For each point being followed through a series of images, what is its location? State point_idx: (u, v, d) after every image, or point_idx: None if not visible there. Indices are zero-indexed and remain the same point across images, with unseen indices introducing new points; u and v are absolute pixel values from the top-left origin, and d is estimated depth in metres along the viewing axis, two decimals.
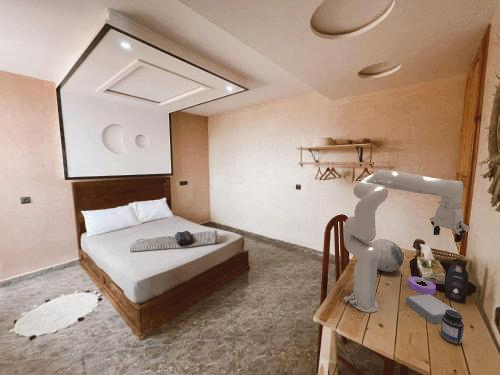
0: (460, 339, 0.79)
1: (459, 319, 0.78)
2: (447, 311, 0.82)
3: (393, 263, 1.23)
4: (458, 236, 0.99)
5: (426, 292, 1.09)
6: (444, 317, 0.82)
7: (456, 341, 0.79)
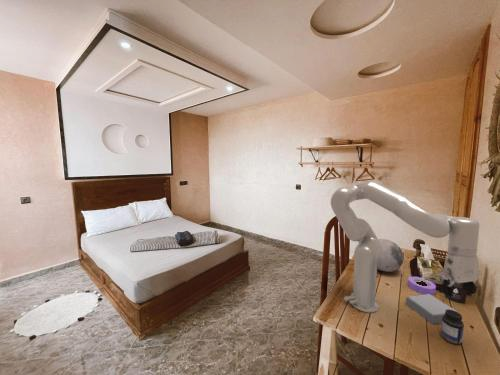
0: (460, 339, 0.79)
1: (459, 319, 0.78)
2: (447, 311, 0.82)
3: (393, 263, 1.23)
4: None
5: (426, 292, 1.09)
6: (444, 317, 0.82)
7: (456, 341, 0.79)
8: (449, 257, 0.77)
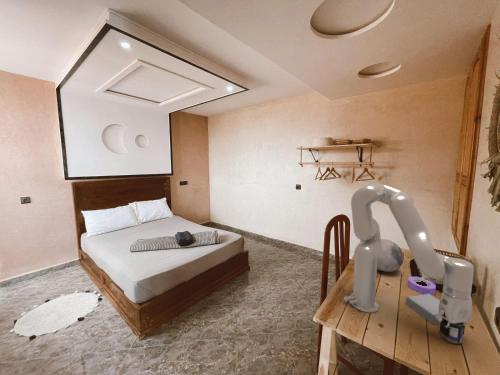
0: (460, 339, 0.79)
1: None
2: None
3: (393, 263, 1.23)
4: None
5: (426, 292, 1.09)
6: None
7: (456, 341, 0.79)
8: (444, 297, 0.79)
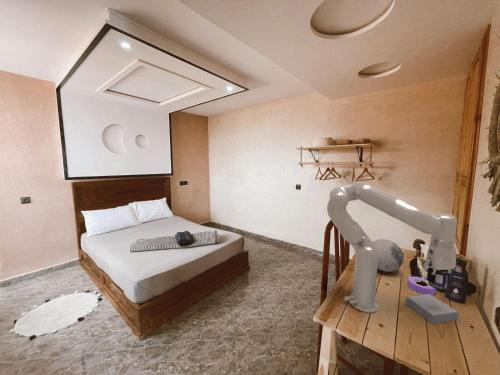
0: (445, 285, 0.88)
1: None
2: None
3: (393, 263, 1.23)
4: (448, 275, 0.91)
5: (426, 292, 1.09)
6: None
7: (441, 287, 0.89)
8: (430, 248, 0.89)
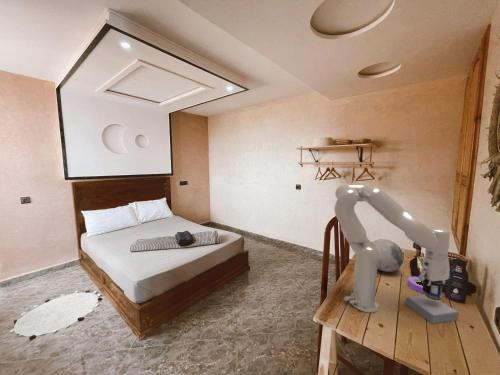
0: (440, 295, 0.92)
1: None
2: None
3: (393, 263, 1.23)
4: None
5: None
6: None
7: (436, 297, 0.93)
8: (425, 260, 0.93)
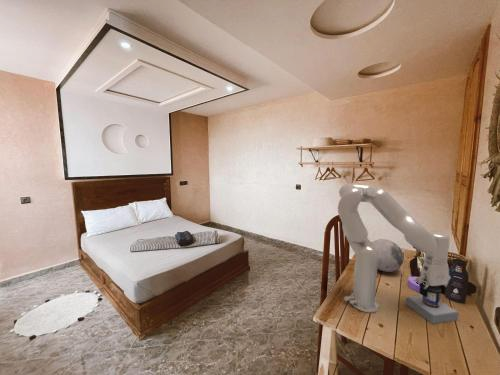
0: (438, 303, 0.93)
1: None
2: None
3: (393, 263, 1.23)
4: None
5: None
6: None
7: (434, 304, 0.93)
8: (425, 264, 0.94)
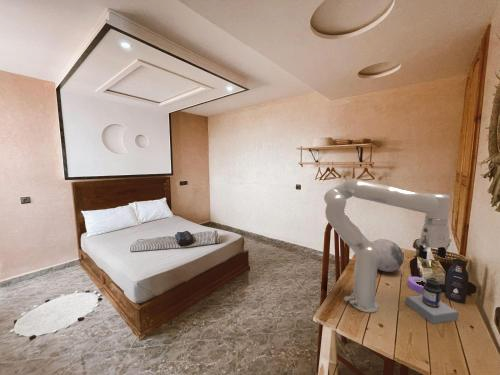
0: (438, 303, 0.93)
1: (437, 286, 0.93)
2: (427, 280, 0.96)
3: (393, 263, 1.23)
4: None
5: None
6: (425, 285, 0.96)
7: (434, 304, 0.93)
8: (425, 227, 0.92)
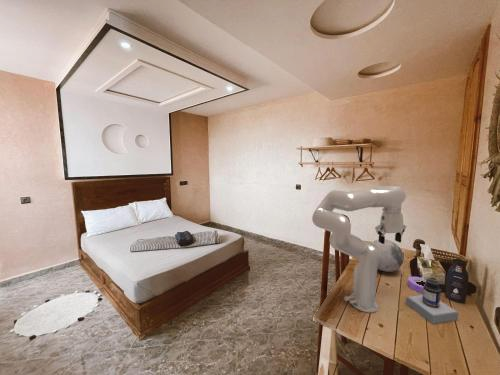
0: (438, 303, 0.93)
1: (437, 286, 0.93)
2: (427, 280, 0.96)
3: (393, 263, 1.23)
4: (400, 236, 1.07)
5: None
6: (425, 285, 0.96)
7: (434, 304, 0.93)
8: (383, 215, 1.06)
